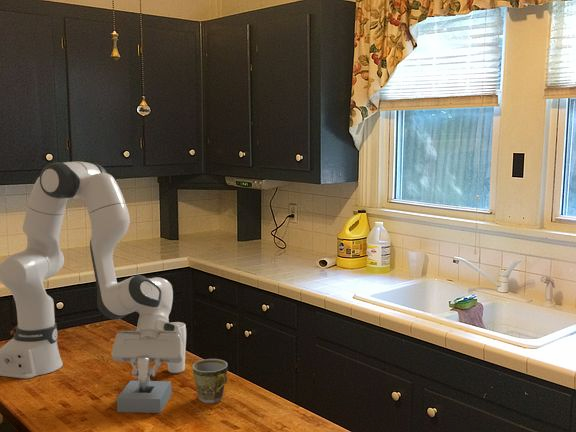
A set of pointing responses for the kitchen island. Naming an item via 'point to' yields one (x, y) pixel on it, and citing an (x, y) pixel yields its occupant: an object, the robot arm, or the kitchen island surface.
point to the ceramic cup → (210, 379)
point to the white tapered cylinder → (181, 366)
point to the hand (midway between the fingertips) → (143, 375)
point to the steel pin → (143, 374)
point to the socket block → (144, 397)
